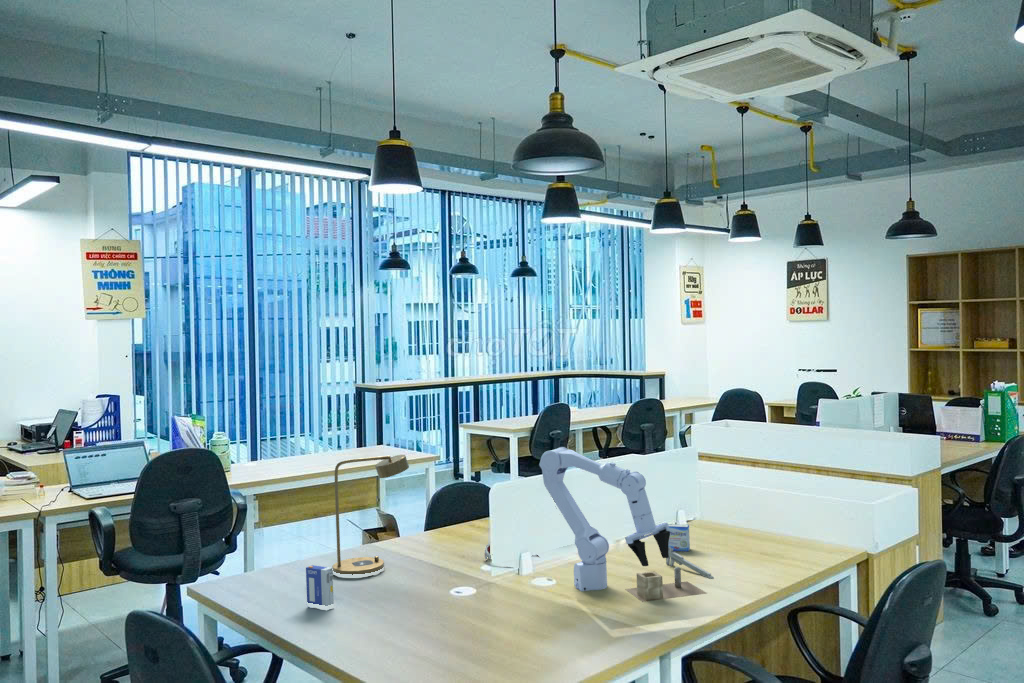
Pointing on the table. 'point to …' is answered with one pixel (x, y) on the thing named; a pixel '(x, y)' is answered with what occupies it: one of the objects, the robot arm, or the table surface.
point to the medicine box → (679, 537)
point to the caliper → (685, 563)
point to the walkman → (319, 585)
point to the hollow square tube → (649, 585)
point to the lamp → (348, 566)
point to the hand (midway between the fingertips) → (655, 561)
